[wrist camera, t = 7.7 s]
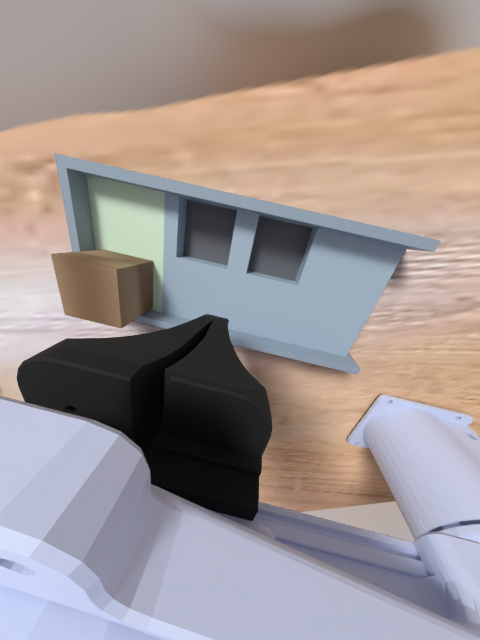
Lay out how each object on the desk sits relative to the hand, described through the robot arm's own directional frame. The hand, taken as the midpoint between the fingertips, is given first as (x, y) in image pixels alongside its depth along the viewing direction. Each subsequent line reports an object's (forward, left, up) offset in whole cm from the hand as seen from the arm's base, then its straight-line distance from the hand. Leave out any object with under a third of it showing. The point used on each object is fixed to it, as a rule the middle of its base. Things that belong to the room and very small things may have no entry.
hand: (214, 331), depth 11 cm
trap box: (0, -2, -6) cm, 7 cm away
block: (+8, 0, -5) cm, 10 cm away
